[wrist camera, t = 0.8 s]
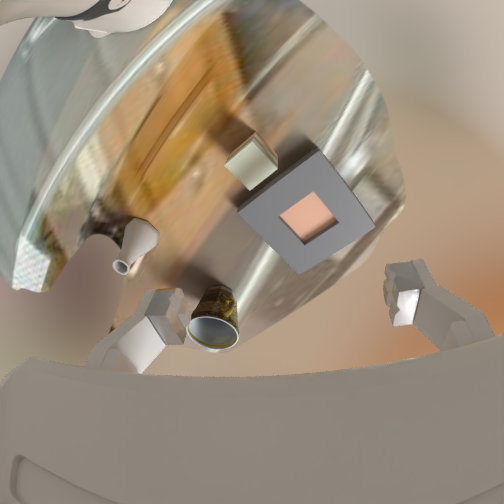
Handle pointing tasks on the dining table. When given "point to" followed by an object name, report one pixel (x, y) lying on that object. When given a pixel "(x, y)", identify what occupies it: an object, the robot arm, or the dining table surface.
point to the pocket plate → (307, 212)
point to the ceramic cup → (215, 319)
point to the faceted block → (252, 161)
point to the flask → (135, 244)
